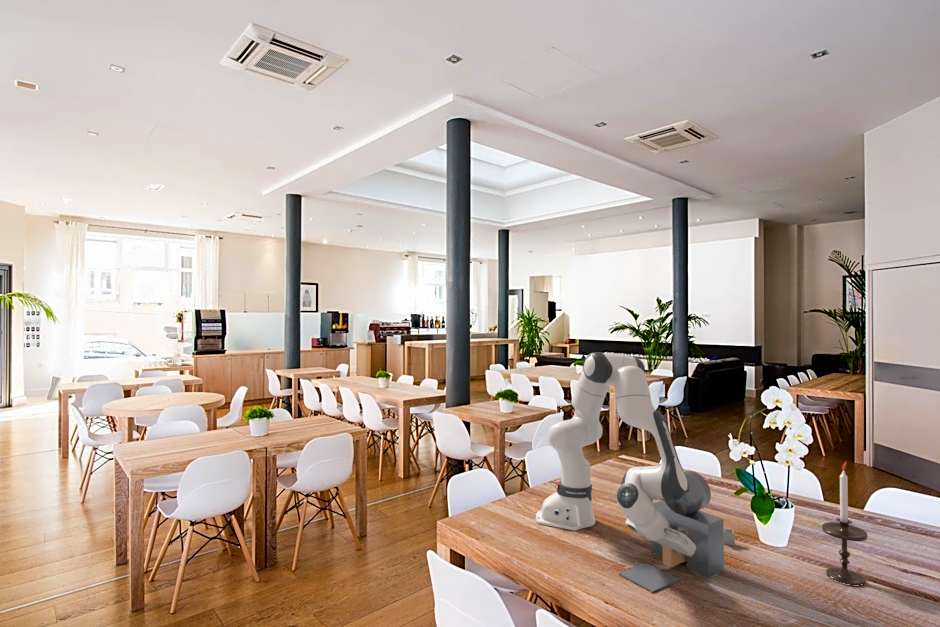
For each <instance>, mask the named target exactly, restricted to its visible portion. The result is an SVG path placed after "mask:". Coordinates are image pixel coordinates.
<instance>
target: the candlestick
mask: <svg viewBox="0 0 940 627" xmlns="http://www.w3.org/2000/svg"><path fill="white" fill-rule="evenodd" d="M847 464H848V463H847V461H845V462H844V463H843V465H842V466H841V469H842V472H841V474H840V475H839V514H840V515H839V517H838V518H836V519H835V520H836V521H837V522H835V521H833V522H824V523H822V524H821V531H822V532H823V533H825V534H827V535H829V536H830V537H833V538H836V539H839V540H841V549H840V550H838V554H839V555H840V556H841V558H839V562H840V563H841V568H840V567H830V568H827V569H826V571H825V574H827V575H826V576H828V577H830V578H831V579H833V580H836V581H838V582H841V583H845V584H850V585H861V584H863V583H864V584H865V578H864V577H863V576H862V575H860V574H858V573H857V572H854V571H851V570H849V569H848V566H849V565H850V563H851V562H850V561H849V558H850V556H851V552H850V551H848V542H850V541H851V542H864V541H867V540H868V533H867V531H865V530H864V529H862V528H861V527H857V526H855V525H852V524H853V521H852V520H850V519H849V497H848V496H849V495H848V494H849V493H848V492H849V491H848V490H849V489H848V487H849V486H848V483H849V482H848V475H846V474H847V473H846V467H847ZM828 577H827V578H828ZM830 578H829V579H830ZM831 579H830V580H831ZM833 580H832V581H833Z"/></svg>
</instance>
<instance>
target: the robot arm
mask: <svg viewBox="0 0 940 627" xmlns="http://www.w3.org/2000/svg"><path fill="white" fill-rule="evenodd" d="M582 367H583V368H582V369H583V370H582V371H581V374H580V375H579V378H578V380H577V381H578V382H577V384H576V386H575V390H574V392H573V395H572V399H571V405H572V407H573V408H574V414H573V416H572V418H570V419H565V420H562V421H559V422H557V423H555V424H553V425H551V426H550V428H549V429H548V432H547V439H548V443H549V444H550V446H551V448H553V450H555V451H556V453H557V455H558V458H559V462H560V475H561V478H560V479H558V480H557V481H555V491H554V493H552V494H550V495H549V496H547V497H546V498H545V499H544V500H543V503H542V505H541V509H540V510H538V511H537V513H536V514H535V522H536V523H537V524H539V525H544V526H550V527H555V528H560V529H565V530H569V531H579V530H581V529H586V528H590V527H593V526H594V525H596V519H595V514H594V510H593V504H592V502H593V486H592V483H591V482H592V478H591V476H592V474H591V473H592V469H591V468H592V467H591V466H592V465H591V463H590V462H589V460H587V459H586V458H585V456H584V453H583V447H586V446H590V445H592V444H595V443H596V442H597V441H599V440H600V439H601V438H602V437H603V426H602V424H601V422H600V415H601V409H602V408H603V404H604V402H605V398H606V396H607V392H608V391H609V387H610V386H613V387H614V396H615V407H616V412H617V415H618V417H619V419H620V420H621V421H622V422H623V423H625V424H626V425H629V426H631V427H633V428H638V429H641V430H645V431H648V432H649V433H651V435H653V437H654V440H655V443H656V448H657V450H658V453H659V456H660V460H661V464H660V465H659V464H658V465H649V466H648V465H646V466H645V465H644V466H633V467H629V468H628V469H627V470H626V471H625V473H624V474H623V477H622V478H621V479H622V480H621V484H620V486H619V488H618V489H617V491H616V502H617V505H618V507H619V508H620V510H621V511H622V513H623V515H624V516H625V517H626V520H625V523H624V524H625V526H626V527H627V528H629V529H631V530H632V531H633V532H634V533H636V534H637V535H640V536H642V537H643V538H644V539H645V540H648V541H650V542H652V541H655V542H657V543H659V544H661V545H662V547H663V545H664V546H666V547H669V548H671V549H673V550H674V551H675V552H676V553H678V554H680V553H682V554H685V555H687V556H689V557H691V556H692V555H693V554H694V552H695V550H696V545H695V544H694V543H693V542H692V541H691V540H690V539H689V538H688V537H687V536H686V535H685V534H683V533H681V532H679V531H677V530H674V529H672V528H669V524H668V521H667V519H666V517H665V516H664V515H663V514H662V513H661V511H660V510H659V509H658V508H657V507H656V506H655V505H654V503H655V502H654V500H664V499H666V500H679V499H681V498H682V497H683V496H684V494H685V493H686V492H687V490H688V482H687V479H686V476H685V473H684V472H685V470H684V469H683V467H682V464H681V462H680V458H679V456H678V452H677V450H676V447H675V443H674V441H673V437H672V434H671V431H670V429H669V426H668V423H667V420H666V419H665V417H664V415H663V413H661V412H660V411H658V410H656V409H655V407H654V405H653V402H652V397H651V396H652V395H651V391H650V388H649V387H650V386H649V382H648V380H647V377H646V374H645V373H646V368H645V367H646V366H645V364H644V362H643V361H642V360H641V359H639V358H638V357H636V356H630V355H625V354H621V353H612V352H611V353H609V352H601V351H598V352H597V351H596V352H595V351H594V352H591V353H589V354H587V356H586V357H585V359H584V361H583V364H582Z"/></svg>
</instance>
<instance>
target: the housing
mask: <svg viewBox="0 0 940 627" xmlns="http://www.w3.org/2000/svg"><path fill="white" fill-rule="evenodd" d="M684 473H685V476H686V479H687V482H688V490H687V492H686V493H685V494H684V496H683V497H682V498H681V499H679V500H666V499H662V500H659V501H657V502H653V503H654V505H655V506H656V507H657V508H658V509H659V510H660V511H661V513H662V514H663V515H664V516H665V517H666V519H667V521H668V524H669V528H672V529H674V530H677V531H681V530H684V529H686V530H687V537H688V538H689V539H690V540H691V541H692V542H693V543H694V544H695V545H696V550H695V552H694V554H693V555H692V556H691V557H689V556H687V561H686V566H687V570H689V571H691V570H692V571H691V572H693V571H694V572H693V573H695V572H696V574H697V573H698V575H699V576H702V577H704V576H705V578H706V577H707V578H706V579H708V578H709V579H711V578H713V577H715V576H717V575H718V574H721V573H723V572H724V571H725V562H724V561H725V560H724V559H725V557H724V556H725V554H724V553H725V552H724V550H725V548H724V535H723V530H724V518H722V517H719V516H717V515H714V514H711V513H708V512H705V511H702V510H703V509H705V508H707V506H709V504H710V503H711V497H712V492H711V488H710V486H709V484H708V482H707V480H706V479H705V478H704V476H702V475H701V474H700V473H698V472H696V471H694V470H684ZM651 553H652V554H654V553H655V554H654V555H656V554H657V555H656V556H658V555H659V557H660V556H662V557H661V558H663V547H662V545H661V544H659V543H657V542H655V541H651ZM714 575H715V576H714ZM712 576H713V577H712ZM710 577H711V578H710Z"/></svg>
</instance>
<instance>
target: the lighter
mask: <svg viewBox="0 0 940 627" xmlns="http://www.w3.org/2000/svg"><path fill="white" fill-rule="evenodd" d="M723 535H724V545H726V546H733V547H735V546H736V533H735V531H734V530H733V529H732V528H730V527H723Z"/></svg>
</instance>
